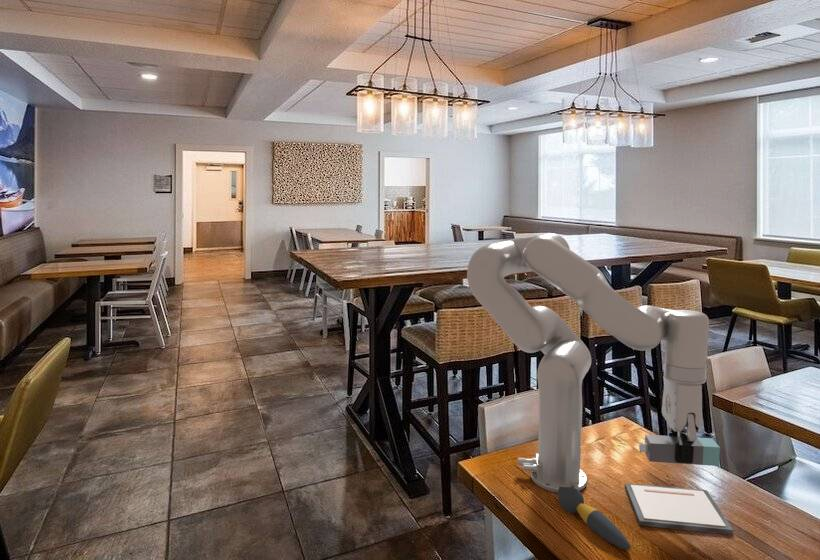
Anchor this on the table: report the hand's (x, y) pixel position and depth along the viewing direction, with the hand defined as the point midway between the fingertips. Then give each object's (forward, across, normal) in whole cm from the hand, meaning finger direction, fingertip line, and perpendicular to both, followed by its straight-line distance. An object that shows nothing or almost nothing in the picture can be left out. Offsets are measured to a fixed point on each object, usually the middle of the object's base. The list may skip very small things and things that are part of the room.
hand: (680, 455), depth 106 cm
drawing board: (+12, 0, 0) cm, 12 cm away
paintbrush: (+12, +8, -18) cm, 23 cm away
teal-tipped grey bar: (+1, 0, 0) cm, 1 cm away
